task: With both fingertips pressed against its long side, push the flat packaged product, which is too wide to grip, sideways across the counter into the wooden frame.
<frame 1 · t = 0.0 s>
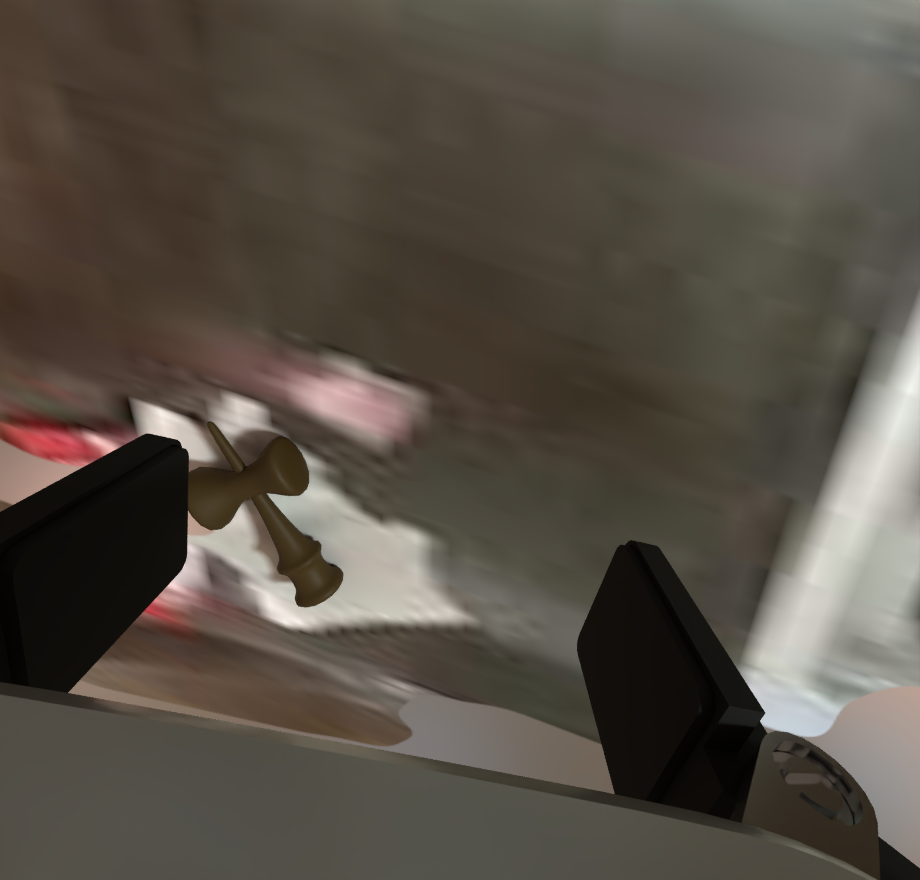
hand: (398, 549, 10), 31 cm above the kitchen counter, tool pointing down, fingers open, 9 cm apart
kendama: (282, 498, 46), on the kitchen counter
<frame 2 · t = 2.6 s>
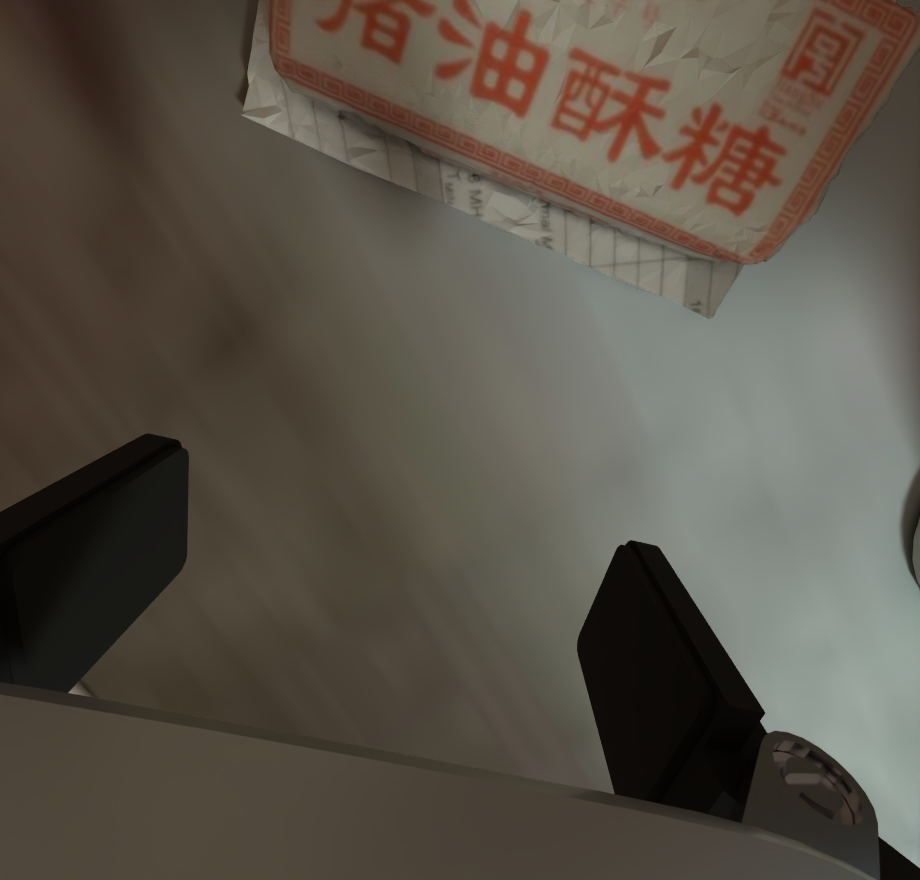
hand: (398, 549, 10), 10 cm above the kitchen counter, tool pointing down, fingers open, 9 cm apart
packaged product: (542, 75, 16), on the kitchen counter
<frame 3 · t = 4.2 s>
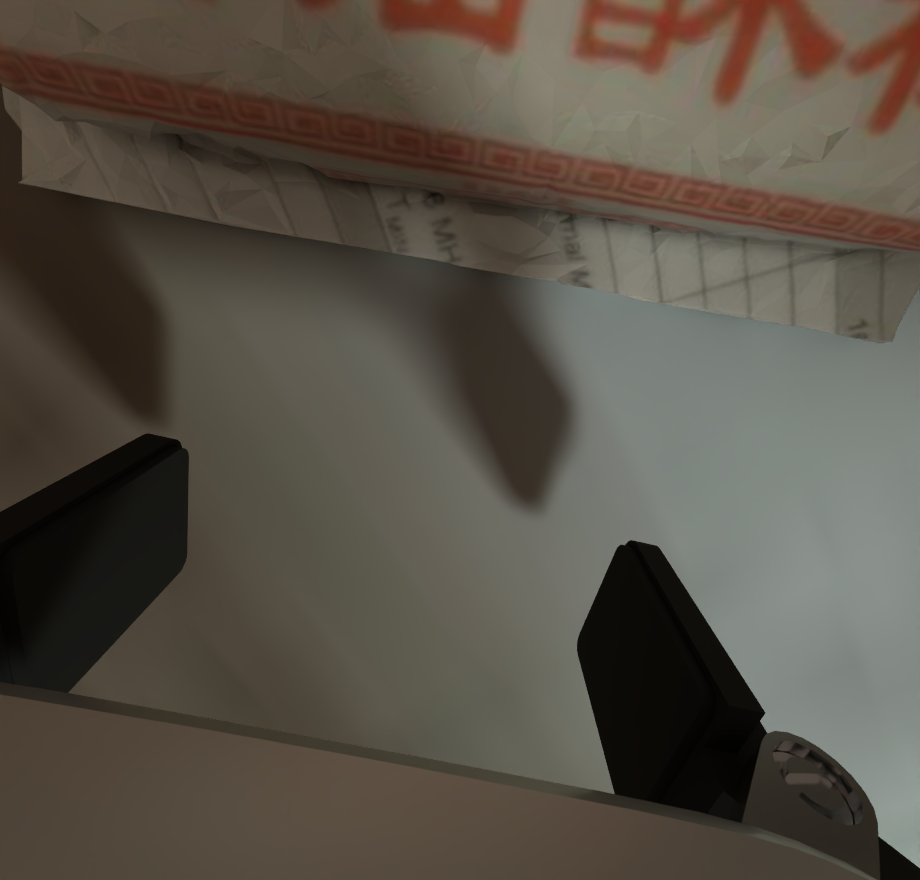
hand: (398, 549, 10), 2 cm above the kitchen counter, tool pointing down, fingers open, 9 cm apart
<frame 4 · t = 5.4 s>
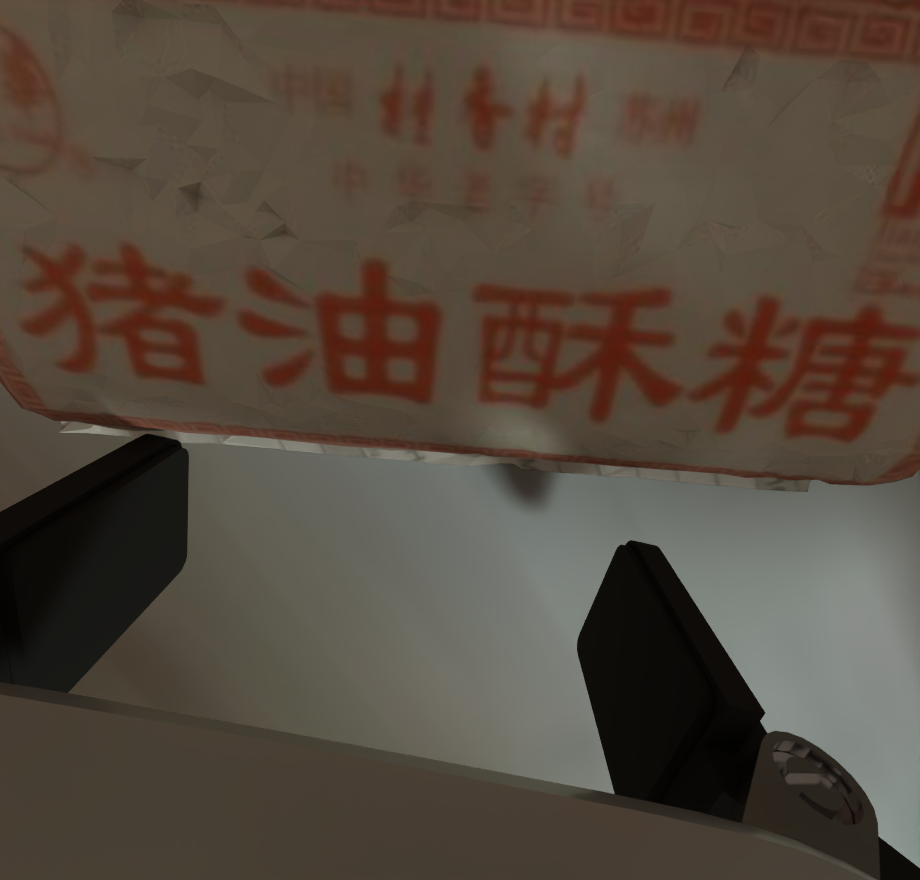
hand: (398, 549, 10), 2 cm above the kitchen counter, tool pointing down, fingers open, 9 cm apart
packaged product: (451, 240, 10), on the kitchen counter
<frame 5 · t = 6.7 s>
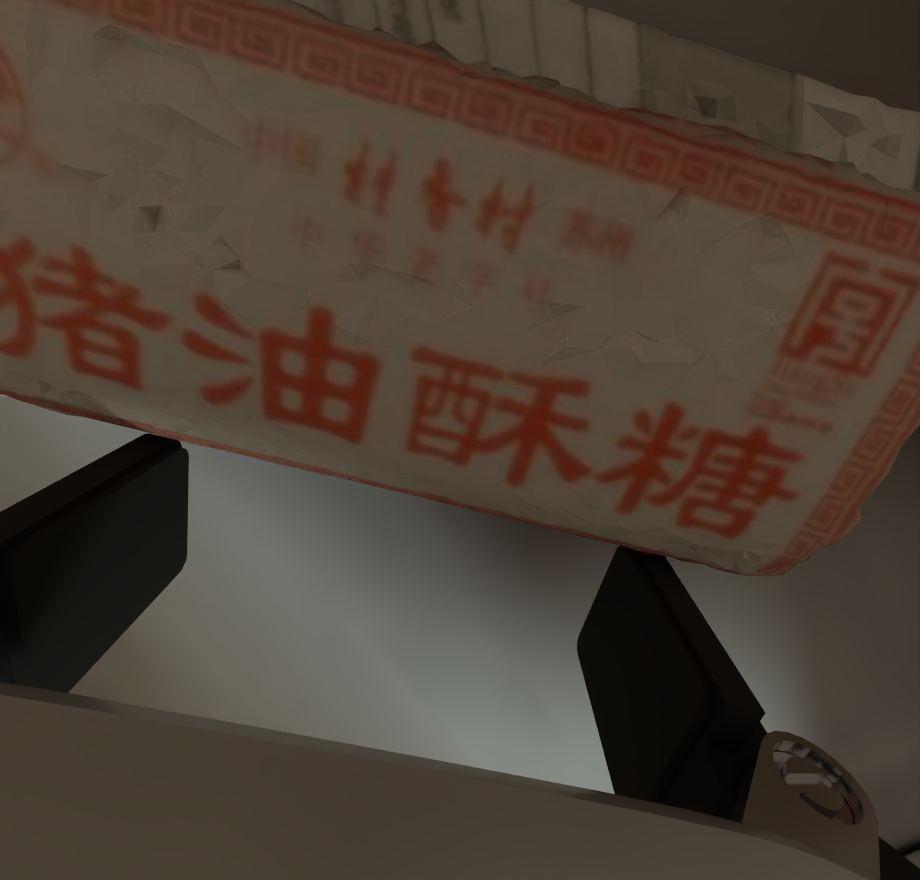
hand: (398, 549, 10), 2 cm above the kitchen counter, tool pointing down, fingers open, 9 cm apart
packaged product: (420, 275, 11), on the kitchen counter
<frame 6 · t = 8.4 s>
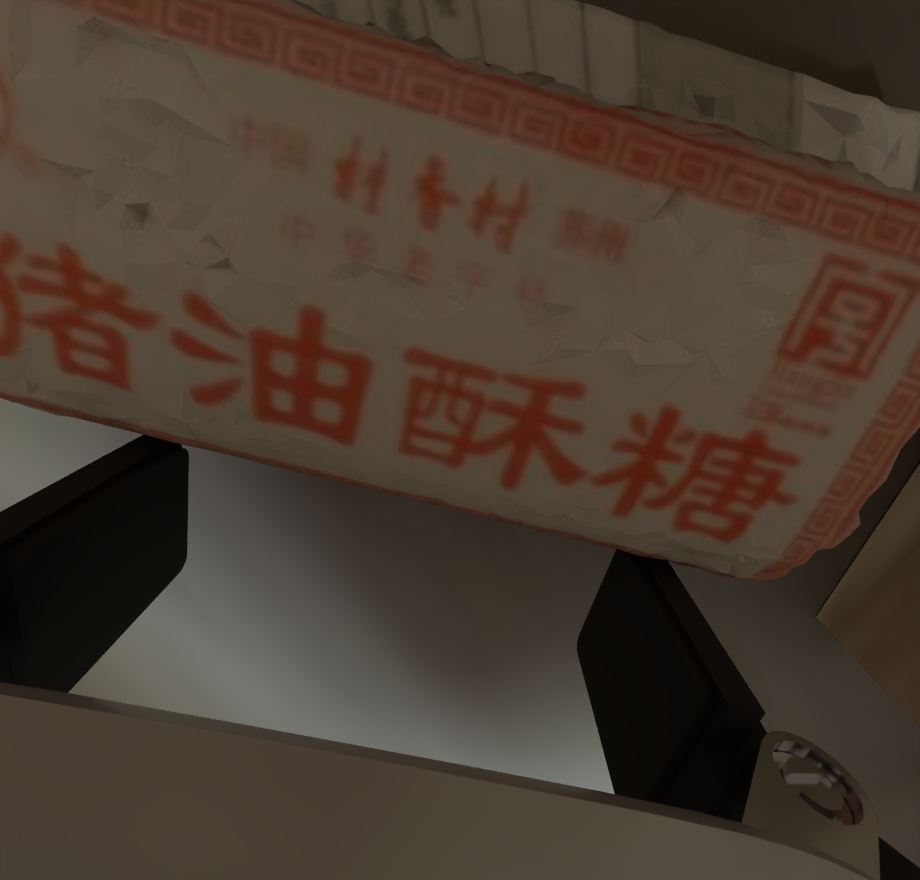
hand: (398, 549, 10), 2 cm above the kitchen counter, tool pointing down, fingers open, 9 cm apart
packaged product: (415, 274, 11), on the kitchen counter, touching gripper
wooden frame: (466, 257, 10), on the kitchen counter
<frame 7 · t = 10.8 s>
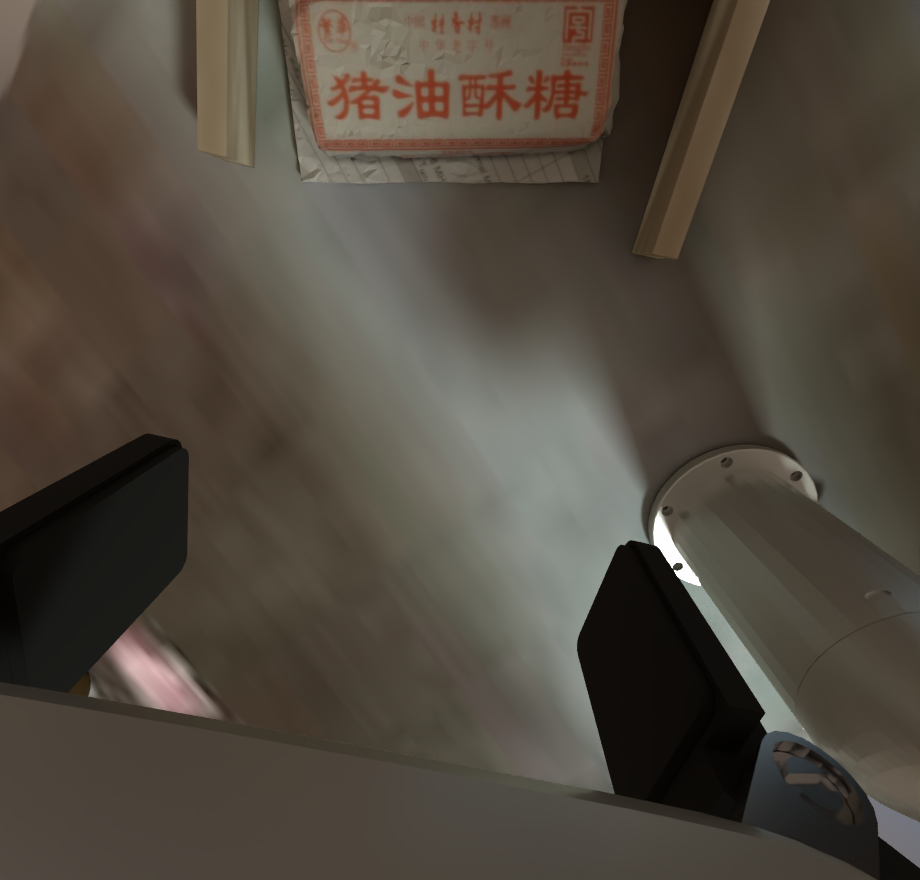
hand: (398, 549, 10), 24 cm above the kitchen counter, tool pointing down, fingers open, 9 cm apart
packaged product: (449, 89, 27), on the kitchen counter
wooden frame: (472, 77, 26), on the kitchen counter
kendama: (49, 694, 46), on the kitchen counter
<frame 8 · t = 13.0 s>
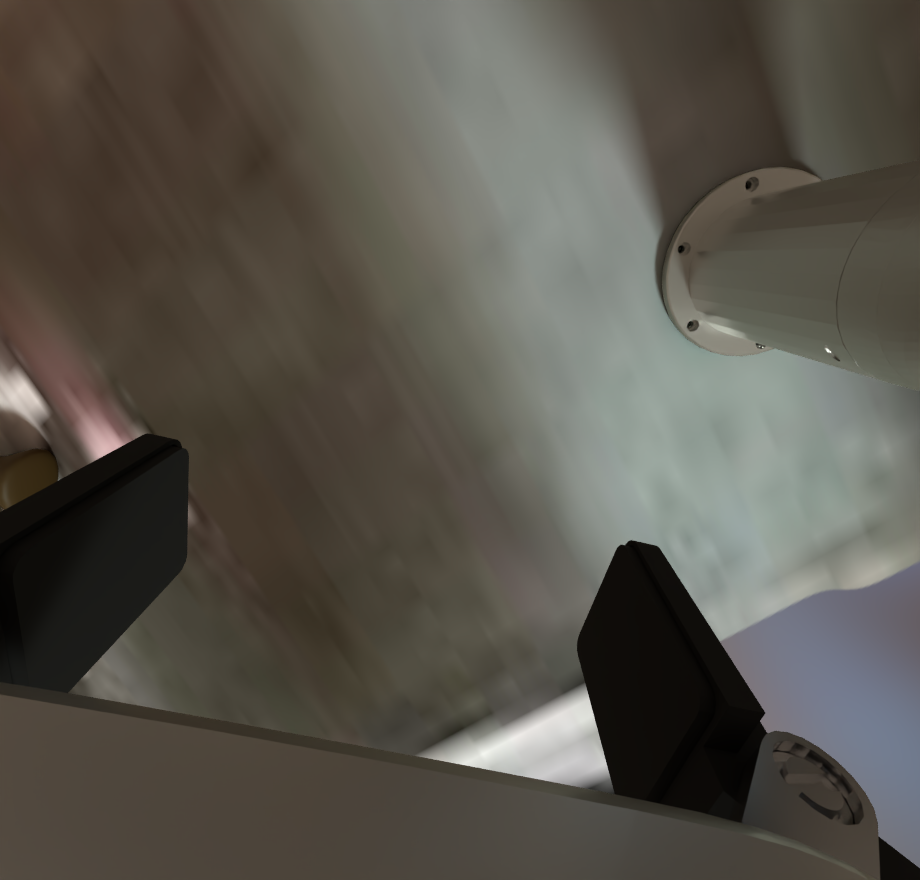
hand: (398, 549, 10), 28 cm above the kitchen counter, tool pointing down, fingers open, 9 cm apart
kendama: (17, 491, 43), on the kitchen counter
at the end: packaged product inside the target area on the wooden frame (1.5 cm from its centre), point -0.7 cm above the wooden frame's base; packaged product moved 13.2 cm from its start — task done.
